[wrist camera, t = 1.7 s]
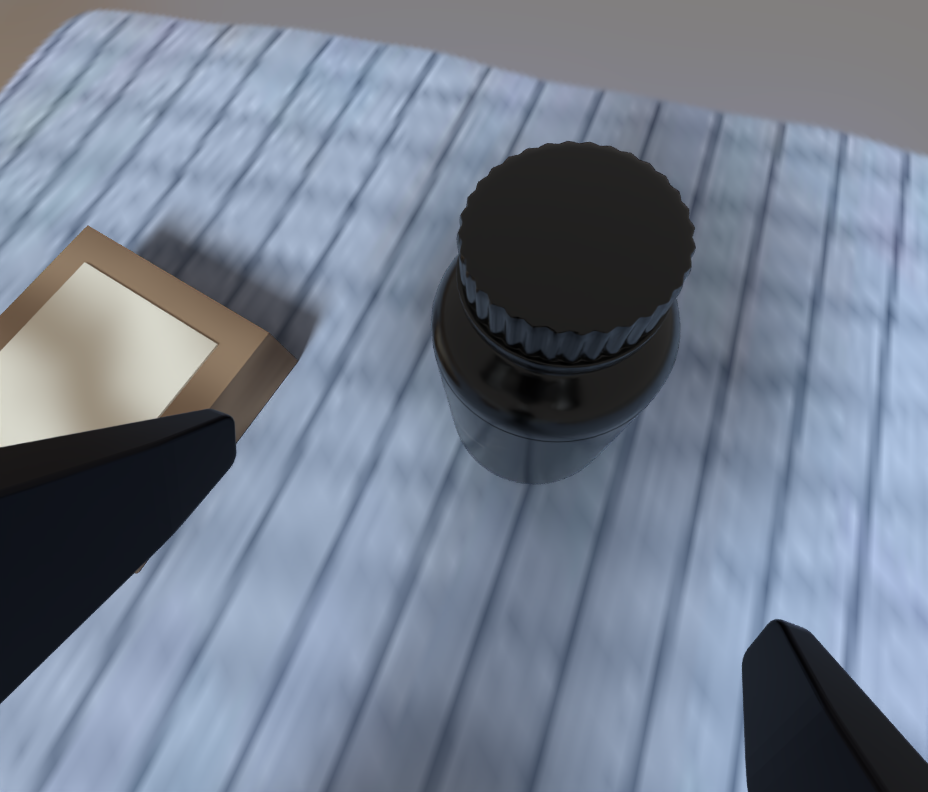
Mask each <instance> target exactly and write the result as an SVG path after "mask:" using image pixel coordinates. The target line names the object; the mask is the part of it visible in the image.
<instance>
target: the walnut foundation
mask: <svg viewBox="0 0 928 792" xmlns="http://www.w3.org/2000/svg"><path fill="white" fill-rule="evenodd" d="M297 362H298V360H297V359H296V358H295V357H294V356H293V355H292V354H291V353H290V352H288V351H287V350H286V349H285V348H284V347H283V346H282V345H281V344H280V343H279V342H278V341H277V340H276V339H275V338H274V337H273V336H272V335H271V334H270V333H269V332H267V331H265V330H264V329H262V328H260V327H259V326H257V325H255V324H254V323H252V322H250V321H248V320H247V319H245V318H243V317H242V316H240V315H238V314H237V313H235V312H233V311H232V310H230V309H228V308H226V307H225V306H223V305H221V304H220V303H218V302H216V301H215V300H213V299H211V298H210V297H208V296H206V295H205V294H203V293H201V292H199V291H198V290H196V289H194V288H193V287H191V286H189V285H188V284H186V283H184V282H183V281H181V280H179V279H177V278H176V277H174V276H172V275H171V274H169V273H167V272H166V271H164V270H162V269H161V268H159V267H157V266H156V265H154V264H152V263H150V262H149V261H147V260H145V259H144V258H142V257H140V256H139V255H137V254H135V253H134V252H132V251H130V250H129V249H127V248H125V247H123V246H122V245H120V244H118V243H117V242H115V241H113V240H112V239H110V238H108V237H107V236H105V235H103V234H101V233H100V232H98V231H96V230H95V229H93V228H91V227H90V226H87V227H86V228H85V229H84V230H83V231H82V232H81V233H80V234H79V235H78V236H77V237H76V238H75V239H74V240H73V241H72V242H71V243H70V244H69V245H68V246H67V247H66V248H65V249H64V250H63V251H62V252H61V253H60V254H59V255H58V256H57V258H56V259H55V260H54V261H53V262H52V263H51V264H50V265H49V266H48V267H47V268H46V269H45V270H44V271H43V272H42V273H41V274H40V275H39V276H38V277H37V278H36V279H35V280H34V281H33V282H32V283H31V284H30V285H29V286H28V287H27V288H26V289H25V291H24V292H23V293H22V294H21V295H20V296H19V297H18V298H17V299H16V300H15V301H14V302H13V303H12V304H11V305H10V306H9V307H8V308H7V309H6V310H5V311H4V312H3V313H2V314H1V315H0V447H4V446H10V445H15V444H20V443H26V442H31V441H37V440H42V439H47V438H53V437H58V436H63V435H69V434H74V433H80V432H85V431H90V430H96V429H101V428H106V427H112V426H117V425H123V424H128V423H133V422H139V421H144V420H149V419H155V418H160V417H166V416H171V415H176V414H182V413H187V412H192V411H198V410H203V409H215V410H218V411H220V412H223V413H226V414H229V415H230V416H232V417H233V419H234V421H235V432H236V443H237V441H238V440H239V439H240V437H241V436H242V435H243V433H244V432H245V431H246V429H247V428H248V427H249V425H250V424H251V423H252V421H253V420H254V419H255V417H256V416H257V415H258V413H259V412H260V411H261V409H262V408H263V407H264V406H265V404H266V403H267V402H268V400H269V399H270V398H271V396H272V395H273V394H274V392H275V391H276V390H277V388H278V387H279V386H280V384H281V383H282V382H283V380H284V379H285V378H286V376H287V375H288V374H289V372H290V371H291V370H292V368H293V367H294V366H295V364H296V363H297ZM146 562H147V561H146ZM146 562H145V563H146ZM145 563H144V564H145ZM144 564H143V565H142V566H141V567H140V568H139V569H138V570H137V571H136V572H135V573H138V572H139V571H140V570H141V568H142V567H143V566H144Z"/></svg>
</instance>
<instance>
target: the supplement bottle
mask: <svg viewBox="0 0 928 792" xmlns="http://www.w3.org/2000/svg"><path fill="white" fill-rule="evenodd" d="M694 230H695V227H694V225H693V224H692V222H691V221H690V219H689V208H688V207H687V206H686V205H685V204H684V203H683V202H682V201H681V196H680V193H679V191H678V190H677V189H675V188H674V187H672V186H671V185H670V183H669V181H668V179H667V177H666V176H665V175H663V174H661V173H659V172H657V171H655V169H654V168H653V166H652V165H651V164H650V163H648V162H645V161H641V160H639V159H638V158H637V157H636V156H634V155H633V154H632V153H628V152H622V151H619V150H617V149H616V148H614V147H612V146H600V145H597V144H595V143H592V142H584V143H576V142H571V141H566V142H563V143H560V144H553V143H547V144H544V145H542V146H540V147H539V148H528V149H526V150H524V151H523V152H522V153H521V154H519V155H514V156H510V157H508V158H507V159H506V160H505V162H504V163H503V164H501V165H498V166H496V167H493V168H492V169H491V171H490V172H489V175H488V176H487V177H485V178H483V179H482V180H480V181H479V182H478V184H477V187H476V190H475V191H474V192H473V193H472V194H471V195H470V196H469V197H468V198H467V204H466V208H465V209H464V210H463V212H462V213H461V215H460V229H459V231H458V234H457V247H458V255H457V256H456V257H455V259H454V260H453V261H452V263H451V264H450V265H449V267H448V269H447V270H446V272H445V274H444V275H443V277H442V279H441V282H440V284H439V286H438V289H437V292H436V295H435V298H434V303H433V308H432V316H431V332H432V341H433V348H434V352H435V357H436V361H437V364H438V368H439V372H440V375H441V379H442V382H443V386H444V389H445V393H446V396H447V400H448V403H449V407H450V410H451V414H452V417H453V421H454V424H455V427H456V429H457V432H458V435H459V437H460V439H461V441H462V443H463V444H464V446H465V448H466V449H467V450H468V452H469V453H470V454H471V456H472V457H473V458H474V459H475V460H476V461H477V462H478V463H479V464H480V465H482V466H483V467H484V468H486V469H487V470H488V471H490V472H492V473H493V474H495V475H497V476H499V477H501V478H504V479H507V480H509V481H513V482H517V483H523V484H546V483H552V482H556V481H559V480H562V479H565V478H567V477H569V476H572V475H574V474H575V473H577V472H579V471H580V470H582V469H583V468H584V467H586V466H587V465H588V464H589V463H590V462H592V461H593V460H594V459H595V458H596V457H597V456H598V455H599V454H600V453H601V452H602V451H603V450H604V449H605V448H606V447H607V446H608V445H609V444H610V443H611V442H612V441H613V440H614V439H615V438H616V437H617V436H618V435H619V434H620V433H621V432H622V431H623V430H624V429H625V428H626V427H627V426H628V425H629V424H630V423H631V422H632V421H633V420H634V419H635V418H636V417H637V416H638V415H639V414H640V413H641V412H642V411H643V410H644V409H645V408H646V407H647V406H648V404H649V403H650V402H651V401H652V400H653V399H654V397H655V396H656V395H657V393H658V392H659V391H660V389H661V388H662V386H663V385H664V383H665V382H666V380H667V378H668V376H669V374H670V373H671V370H672V368H673V365H674V363H675V360H676V356H677V352H678V348H679V342H680V314H679V308H678V303H677V299H676V298H677V296H678V295H679V293H680V292H681V289H682V286H683V282H684V281H685V279H686V278H687V276H688V275H689V273H690V271H691V267H692V266H691V258H692V256H693V254H694V252H695V249H696V246H695V243H694V240H693V238H692V237H693V234H694Z"/></svg>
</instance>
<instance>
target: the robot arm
mask: <svg viewBox="0 0 928 792" xmlns="http://www.w3.org/2000/svg"><path fill="white" fill-rule="evenodd" d="M235 457H236V432H235V421H234V419H233V417H232V416H230V415H229V414H226V413H223V412H220V411H218V410H215V409H203V410H198V411H192V412H187V413H182V414H176V415H171V416H166V417H160V418H155V419H149V420H144V421H139V422H133V423H128V424H123V425H117V426H112V427H106V428H101V429H96V430H90V431H85V432H80V433H74V434H69V435H63V436H58V437H53V438H47V439H42V440H37V441H31V442H26V443H20V444H15V445H10V446H4V447H0V704H1V703H2V702H3V701H4V700H5V699H6V698H7V697H8V696H9V695H10V694H11V693H12V692H13V691H14V690H15V689H16V688H17V687H18V686H19V685H20V684H21V683H22V682H23V681H24V680H25V679H26V678H27V677H28V676H29V675H30V674H31V673H32V672H33V671H34V670H36V669H37V668H38V667H39V666H40V665H41V664H42V663H43V662H44V661H45V660H46V659H47V658H48V657H49V656H50V655H51V654H52V653H53V652H54V651H55V650H56V649H57V648H58V647H59V646H60V645H61V644H62V643H63V642H64V641H65V640H66V639H67V638H68V637H69V636H70V635H71V634H72V633H73V632H74V631H75V630H76V629H77V628H79V627H80V626H81V625H82V624H83V623H84V622H85V621H86V620H87V619H88V618H89V617H90V616H91V615H92V614H93V613H94V612H95V611H96V610H97V609H98V608H99V607H100V606H101V605H102V604H103V603H104V602H105V601H106V600H107V599H108V598H109V597H110V596H111V595H112V594H113V593H114V592H115V591H116V590H117V589H118V588H119V587H120V586H122V585H123V584H124V583H125V582H126V581H127V580H128V579H129V578H130V577H131V576H132V575H133V574H134V573H135V572H136V571H137V570H138V569H139V568H140V567H141V566H142V565H143V564H144V563H145V562H146V561H147V560H148V559H149V558H150V557H151V556H152V555H153V554H154V553H155V552H156V551H157V550H158V549H159V548H160V547H161V546H162V545H163V544H164V543H165V542H166V541H167V540H168V539H169V538H170V537H171V536H172V535H173V534H174V533H175V532H176V531H177V530H178V529H179V527H180V526H181V525H182V524H183V523H184V522H185V521H186V519H187V518H188V517H189V516H190V515H191V514H192V512H193V511H194V510H195V509H196V508H197V506H198V505H199V504H200V503H201V502H202V501H203V499H204V498H205V497H206V496H207V495H208V494H209V492H210V491H211V490H212V489H213V488H214V486H215V485H216V484H217V483H218V482H219V481H220V479H221V478H222V477H223V476H224V475H225V473H226V472H227V471H228V470H229V469H230V467H231V466H232V464H233V463H234V460H235ZM742 685H743V711H744V738H745V763H746V778H747V788H748V792H928V763H927V762H926V761H925V760H924V759H923V758H922V757H921V755H920V754H919V753H918V752H917V751H916V750H915V749H914V748H913V746H912V745H911V744H910V743H909V742H908V741H907V740H906V739H905V737H904V736H903V735H902V734H901V733H900V732H899V731H898V730H897V728H896V727H895V726H894V725H893V724H892V723H891V722H890V721H889V719H888V718H887V717H886V716H885V715H884V714H883V713H882V712H881V711H880V709H879V708H878V707H877V706H876V705H875V704H874V703H873V702H872V700H871V699H870V698H869V697H868V696H867V695H866V694H865V693H864V691H863V690H862V689H861V688H860V687H859V686H858V685H857V684H856V682H855V681H854V680H853V679H852V678H851V677H850V676H849V675H848V673H847V672H846V671H845V670H844V669H843V668H842V667H841V666H840V665H839V663H838V662H837V661H836V660H835V659H834V658H833V657H832V656H831V654H830V653H829V652H828V651H827V650H826V649H825V648H824V647H823V645H822V644H821V643H820V642H819V641H818V640H817V639H816V638H815V636H814V635H813V634H812V633H811V632H810V631H808V630H807V629H805V628H803V627H800V626H797V625H795V624H792V623H789V622H787V621H784V620H781V619H775V620H772V621H770V622H769V623H768V624H767V626H766V627H765V628H764V629H763V631H762V632H761V633H760V634H759V636H758V637H757V638H756V639H755V640H754V642H753V643H752V644H751V645H750V647H749V648H748V649H747V651H746V652H745V655H744V657H743V662H742Z"/></svg>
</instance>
